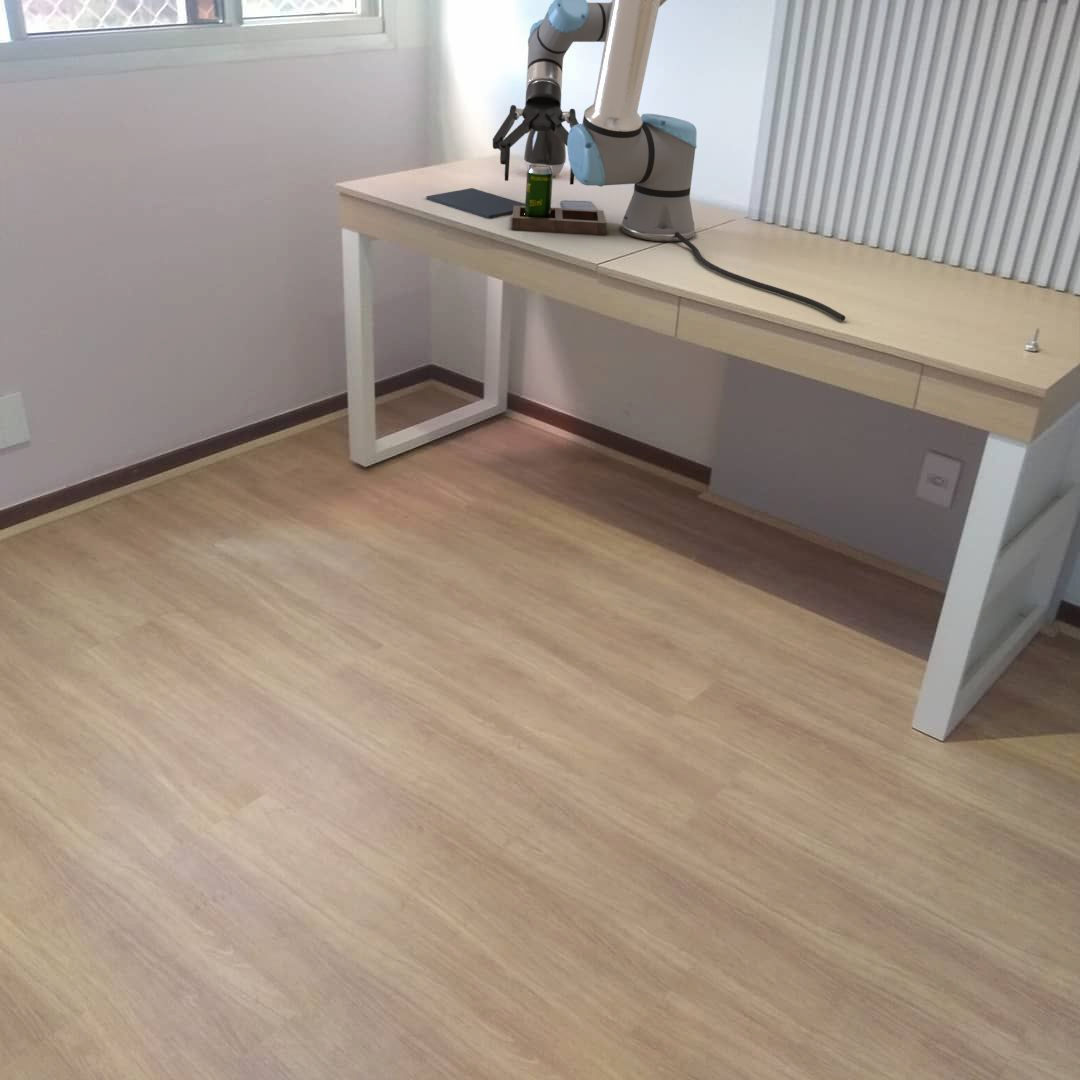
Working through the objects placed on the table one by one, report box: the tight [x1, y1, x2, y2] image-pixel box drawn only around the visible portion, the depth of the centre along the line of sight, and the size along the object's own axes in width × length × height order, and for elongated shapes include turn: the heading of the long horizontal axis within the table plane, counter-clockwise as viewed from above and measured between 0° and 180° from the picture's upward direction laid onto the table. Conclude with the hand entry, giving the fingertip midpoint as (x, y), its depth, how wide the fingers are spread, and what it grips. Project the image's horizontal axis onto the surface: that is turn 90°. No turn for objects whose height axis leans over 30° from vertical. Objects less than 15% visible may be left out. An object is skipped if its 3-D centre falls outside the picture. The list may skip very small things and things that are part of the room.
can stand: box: [511, 205, 607, 236], centre depth 244 cm, size 19×10×2 cm, turn 90°
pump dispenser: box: [523, 118, 567, 178], centre depth 281 cm, size 10×10×15 cm
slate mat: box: [425, 187, 525, 219], centre depth 257 cm, size 20×14×1 cm
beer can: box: [524, 164, 554, 218], centre depth 242 cm, size 5×5×12 cm
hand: (539, 179), depth 240 cm, fingers open, 13 cm apart
